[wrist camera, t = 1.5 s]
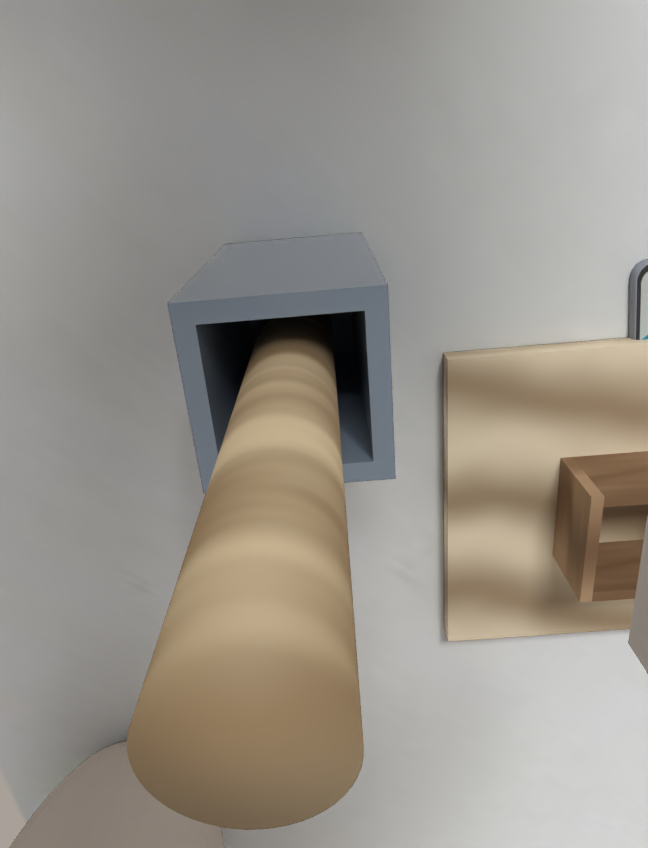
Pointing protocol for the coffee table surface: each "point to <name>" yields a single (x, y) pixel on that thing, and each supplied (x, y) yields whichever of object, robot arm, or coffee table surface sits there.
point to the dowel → (261, 611)
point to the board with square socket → (544, 487)
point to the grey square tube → (277, 298)
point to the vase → (110, 812)
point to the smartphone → (638, 301)
